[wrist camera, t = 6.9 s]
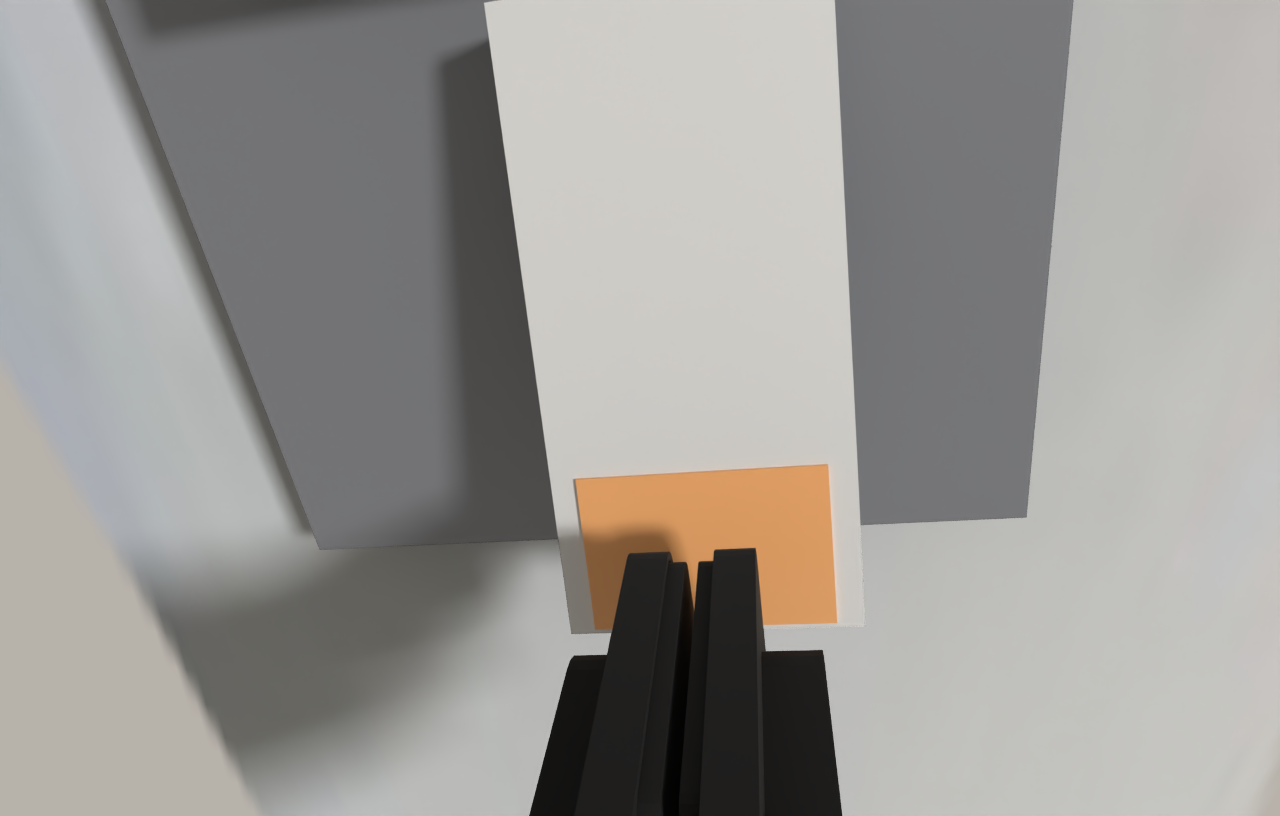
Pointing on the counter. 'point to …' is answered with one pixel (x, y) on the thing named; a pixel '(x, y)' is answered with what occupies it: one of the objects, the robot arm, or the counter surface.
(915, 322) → the control panel
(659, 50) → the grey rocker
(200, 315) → the counter surface
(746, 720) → the robot arm
